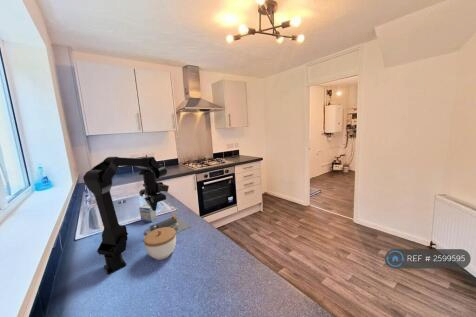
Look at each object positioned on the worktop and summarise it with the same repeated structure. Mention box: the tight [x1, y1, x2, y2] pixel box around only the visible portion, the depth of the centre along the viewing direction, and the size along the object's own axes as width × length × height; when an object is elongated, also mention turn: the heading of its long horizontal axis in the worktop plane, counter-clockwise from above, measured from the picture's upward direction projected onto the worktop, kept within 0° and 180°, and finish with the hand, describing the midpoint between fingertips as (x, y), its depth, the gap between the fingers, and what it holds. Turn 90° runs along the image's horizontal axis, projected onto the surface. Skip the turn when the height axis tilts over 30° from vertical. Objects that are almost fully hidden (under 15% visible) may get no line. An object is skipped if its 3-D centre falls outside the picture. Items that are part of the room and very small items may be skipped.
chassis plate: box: [143, 216, 192, 236], centre depth 103 cm, size 15×19×2 cm
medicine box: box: [138, 204, 157, 223], centre depth 115 cm, size 8×4×9 cm, turn 73°
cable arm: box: [149, 214, 178, 231], centre depth 102 cm, size 3×14×4 cm, turn 136°
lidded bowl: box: [143, 227, 177, 261], centre depth 82 cm, size 13×13×11 cm
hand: (154, 210), depth 99 cm, fingers closed
